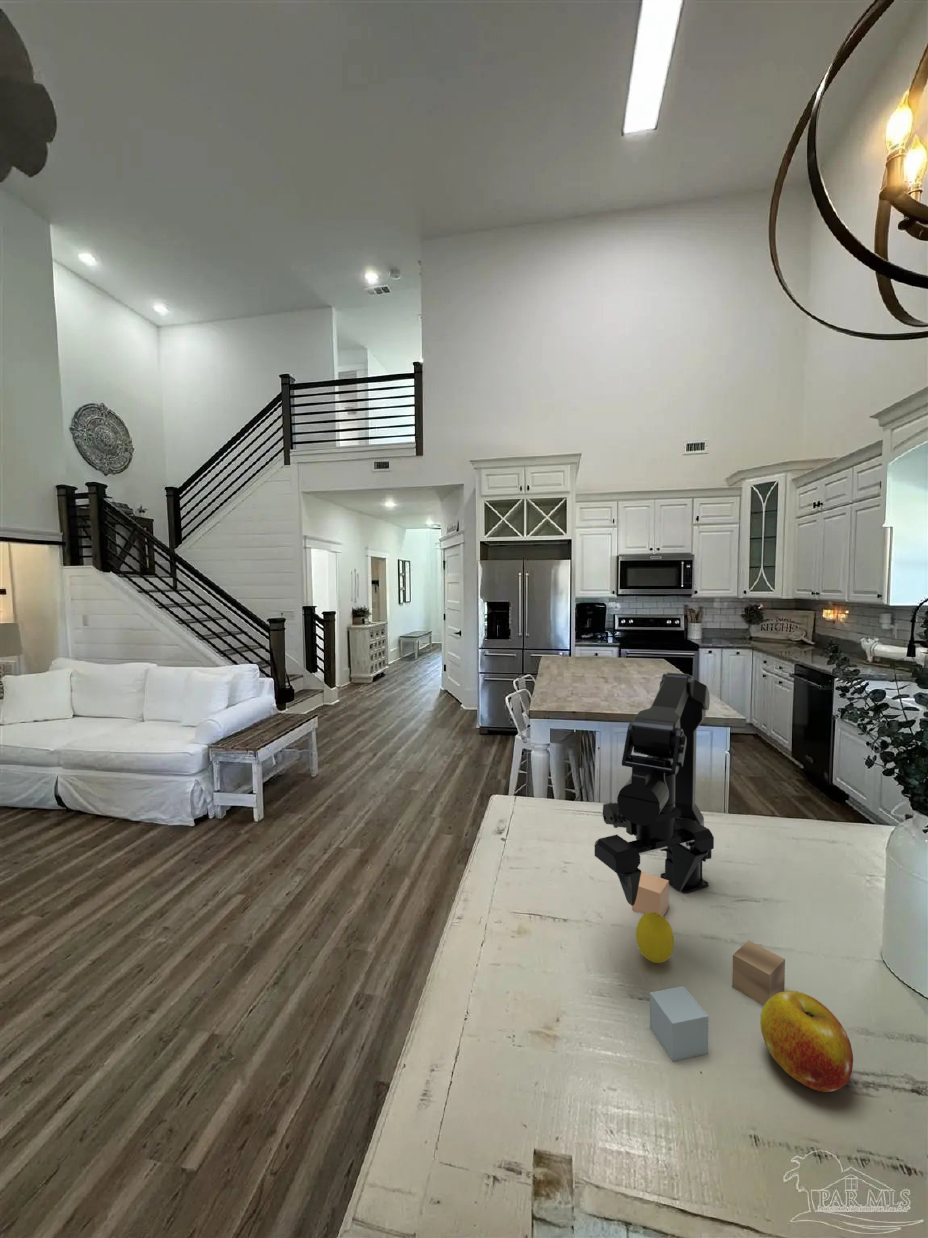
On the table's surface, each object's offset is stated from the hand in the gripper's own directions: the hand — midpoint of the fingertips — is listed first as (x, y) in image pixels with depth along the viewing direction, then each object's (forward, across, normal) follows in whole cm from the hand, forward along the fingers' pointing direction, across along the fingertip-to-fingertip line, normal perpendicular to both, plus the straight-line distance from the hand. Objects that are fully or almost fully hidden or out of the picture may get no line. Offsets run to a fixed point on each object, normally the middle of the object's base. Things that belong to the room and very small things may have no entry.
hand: (654, 897), depth 79 cm
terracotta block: (+11, -9, -11) cm, 18 cm away
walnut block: (+11, -10, +10) cm, 18 cm away
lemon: (+11, 0, 0) cm, 11 cm away
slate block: (+11, +7, +12) cm, 18 cm away
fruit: (+11, -4, +21) cm, 24 cm away
